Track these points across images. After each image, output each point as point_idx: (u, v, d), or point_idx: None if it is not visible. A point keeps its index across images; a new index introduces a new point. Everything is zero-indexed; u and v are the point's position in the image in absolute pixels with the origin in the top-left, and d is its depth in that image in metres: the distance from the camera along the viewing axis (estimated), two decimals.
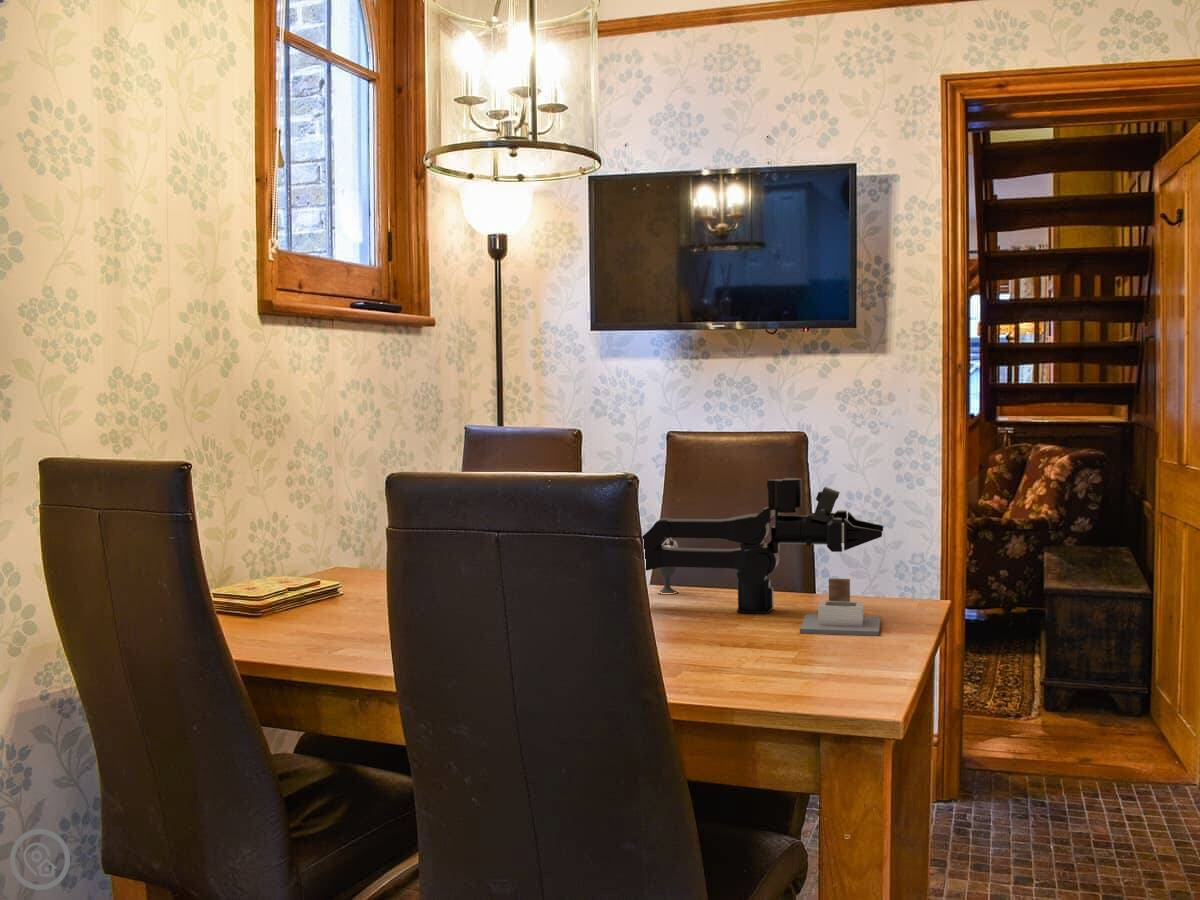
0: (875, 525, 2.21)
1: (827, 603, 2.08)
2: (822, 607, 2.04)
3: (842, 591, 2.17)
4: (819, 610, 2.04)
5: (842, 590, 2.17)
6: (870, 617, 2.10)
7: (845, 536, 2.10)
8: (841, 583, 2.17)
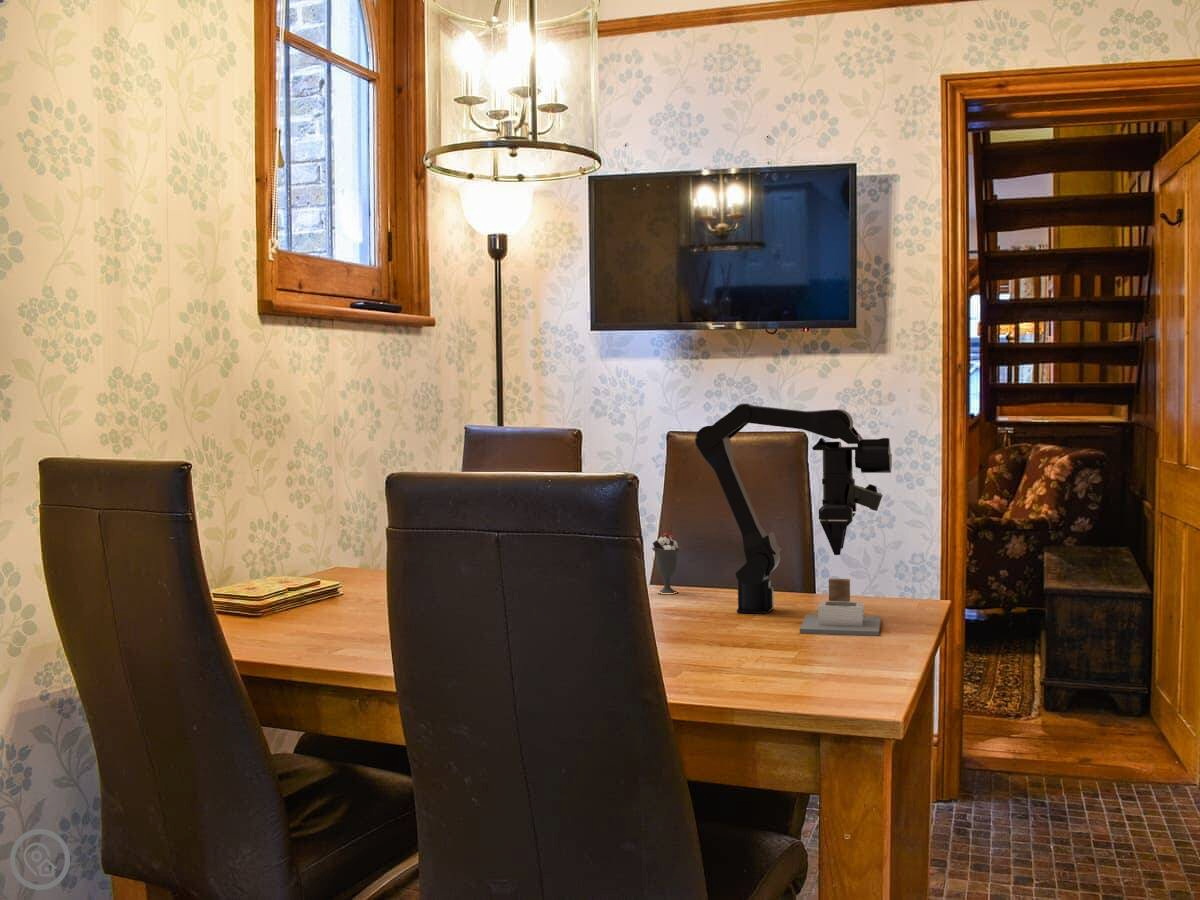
0: (842, 541, 2.21)
1: (827, 603, 2.08)
2: (822, 607, 2.04)
3: (842, 591, 2.17)
4: (819, 610, 2.04)
5: (842, 590, 2.17)
6: (870, 617, 2.10)
7: (834, 522, 2.09)
8: (841, 583, 2.17)
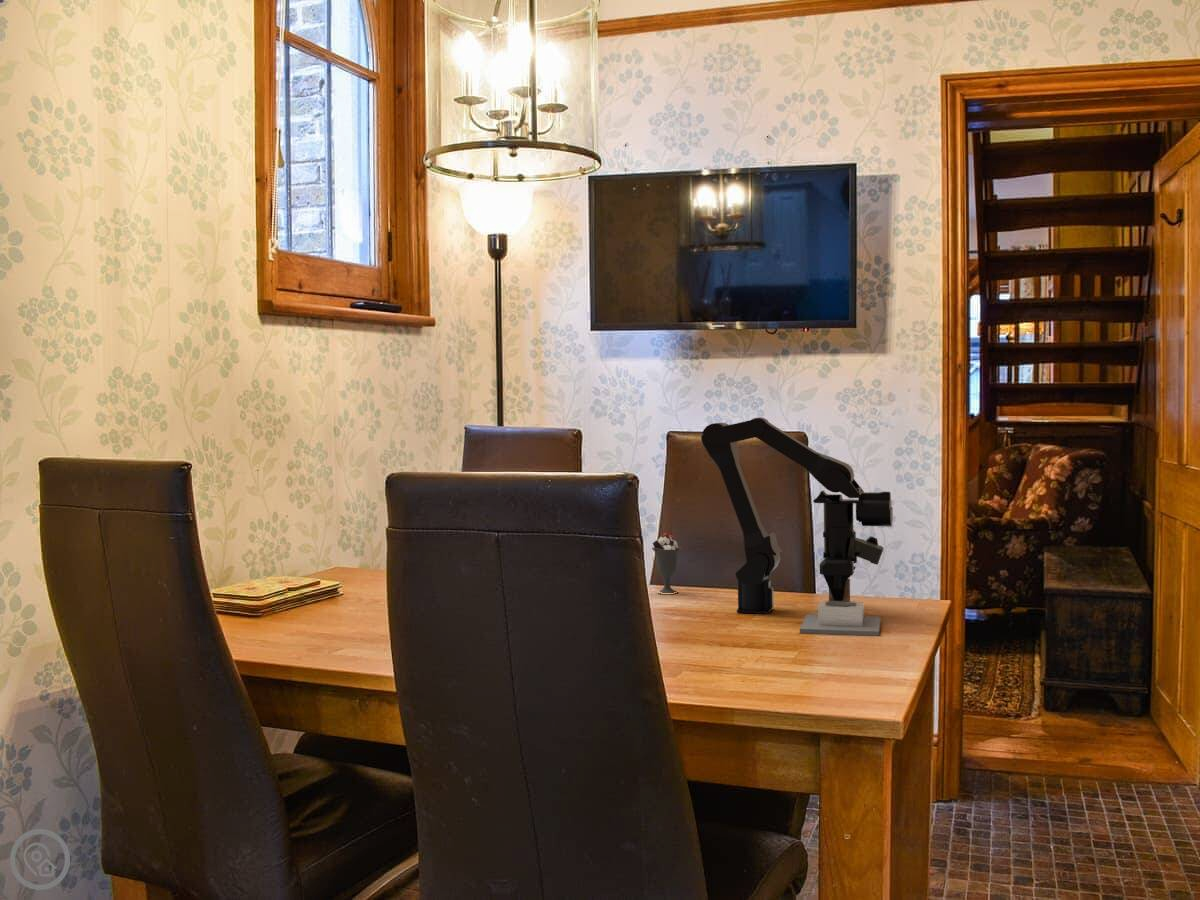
0: None
1: (827, 603, 2.08)
2: (822, 607, 2.04)
3: None
4: (819, 610, 2.04)
5: None
6: (870, 617, 2.10)
7: None
8: None
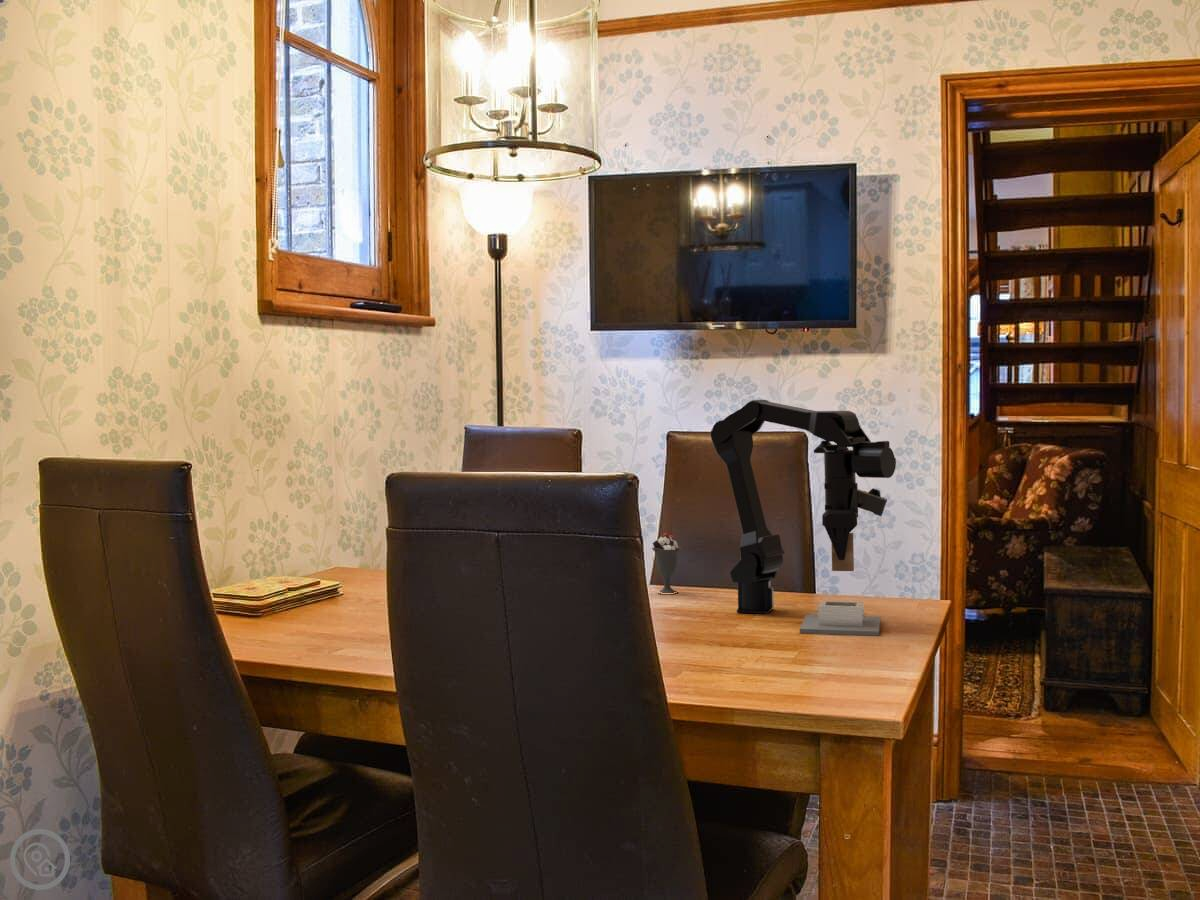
0: None
1: (827, 603, 2.08)
2: (822, 607, 2.04)
3: None
4: (819, 610, 2.04)
5: None
6: (870, 617, 2.10)
7: (839, 526, 2.04)
8: None
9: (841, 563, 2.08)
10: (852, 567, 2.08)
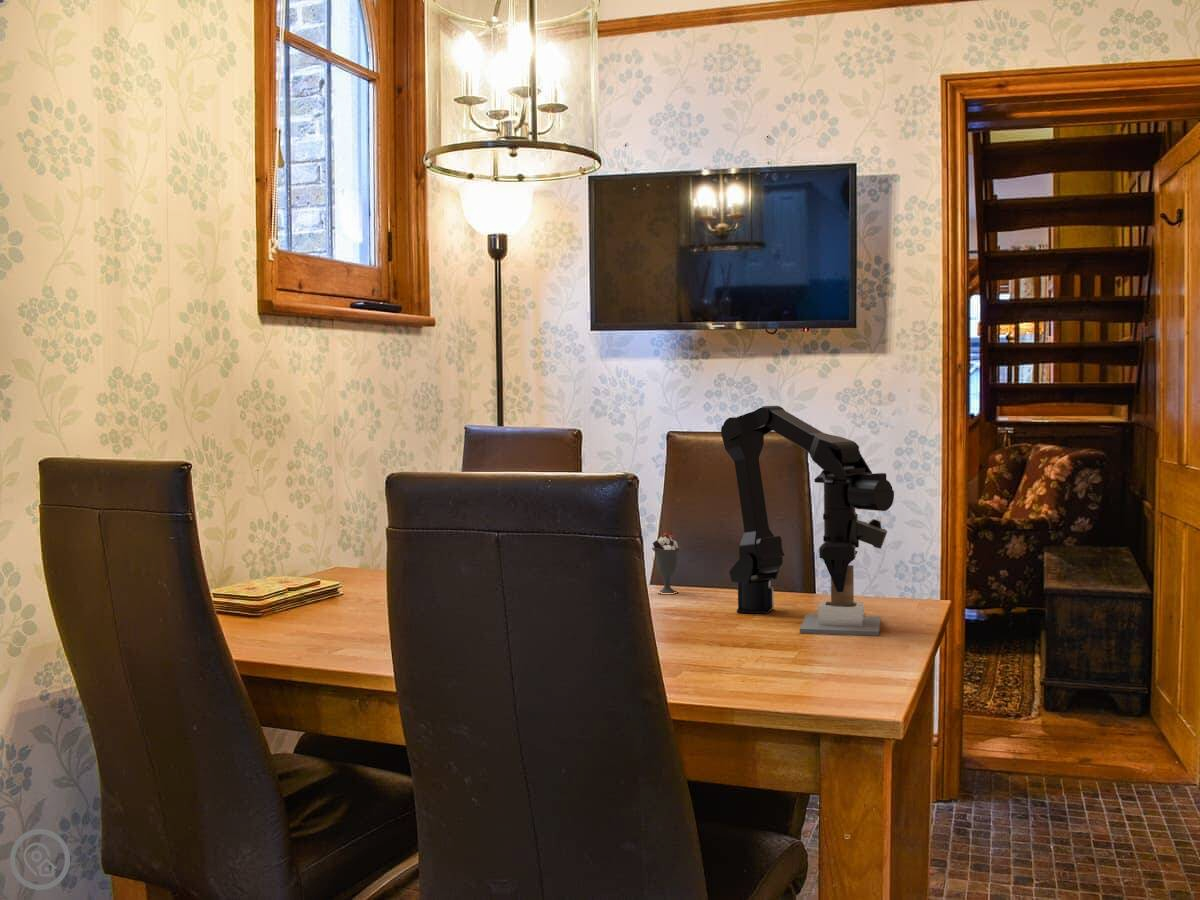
0: None
1: (827, 603, 2.08)
2: (822, 607, 2.04)
3: (845, 578, 2.05)
4: (819, 610, 2.04)
5: None
6: (870, 617, 2.10)
7: (837, 558, 2.01)
8: None
9: (840, 596, 2.05)
10: (851, 600, 2.04)
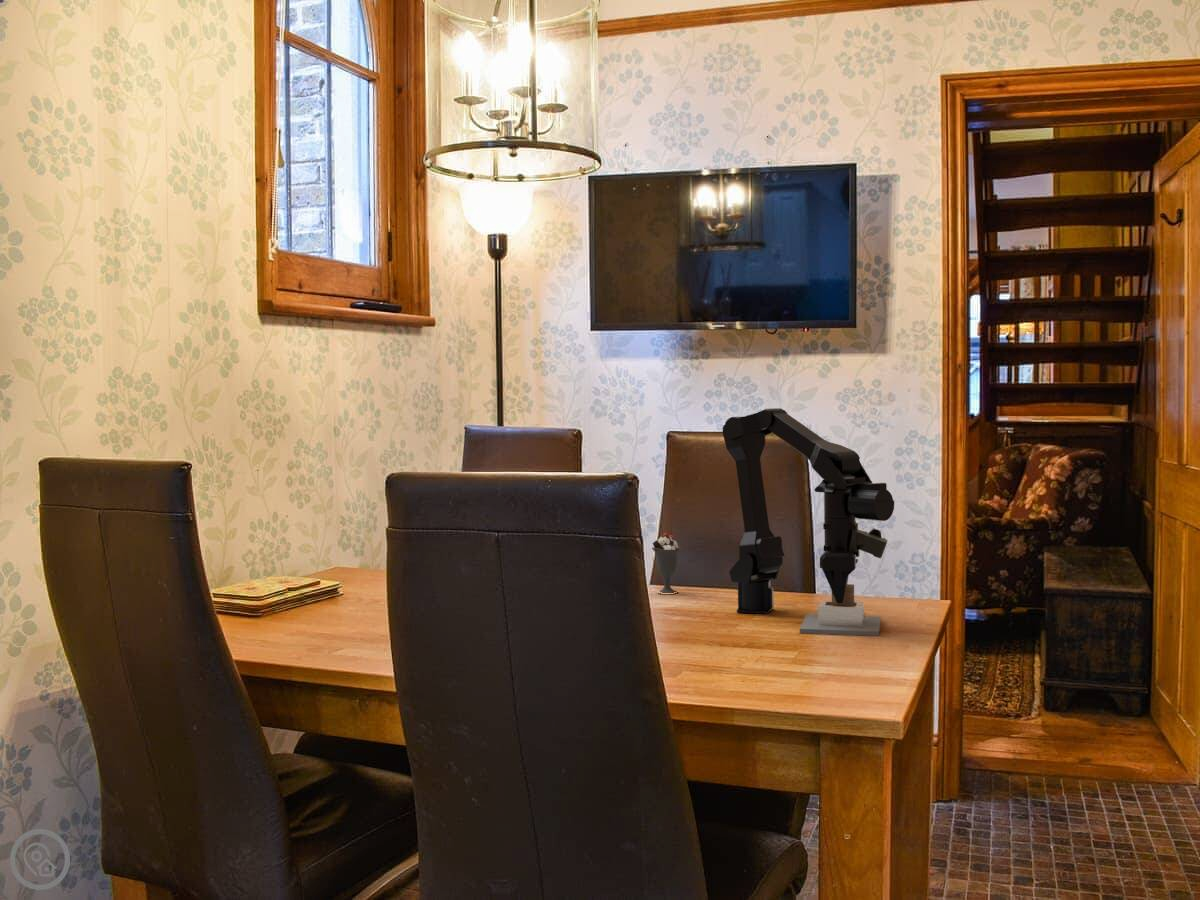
0: None
1: (827, 603, 2.08)
2: (822, 607, 2.04)
3: (846, 598, 2.04)
4: (819, 610, 2.04)
5: (845, 597, 2.04)
6: (870, 617, 2.10)
7: (837, 569, 2.00)
8: None
9: None
10: None
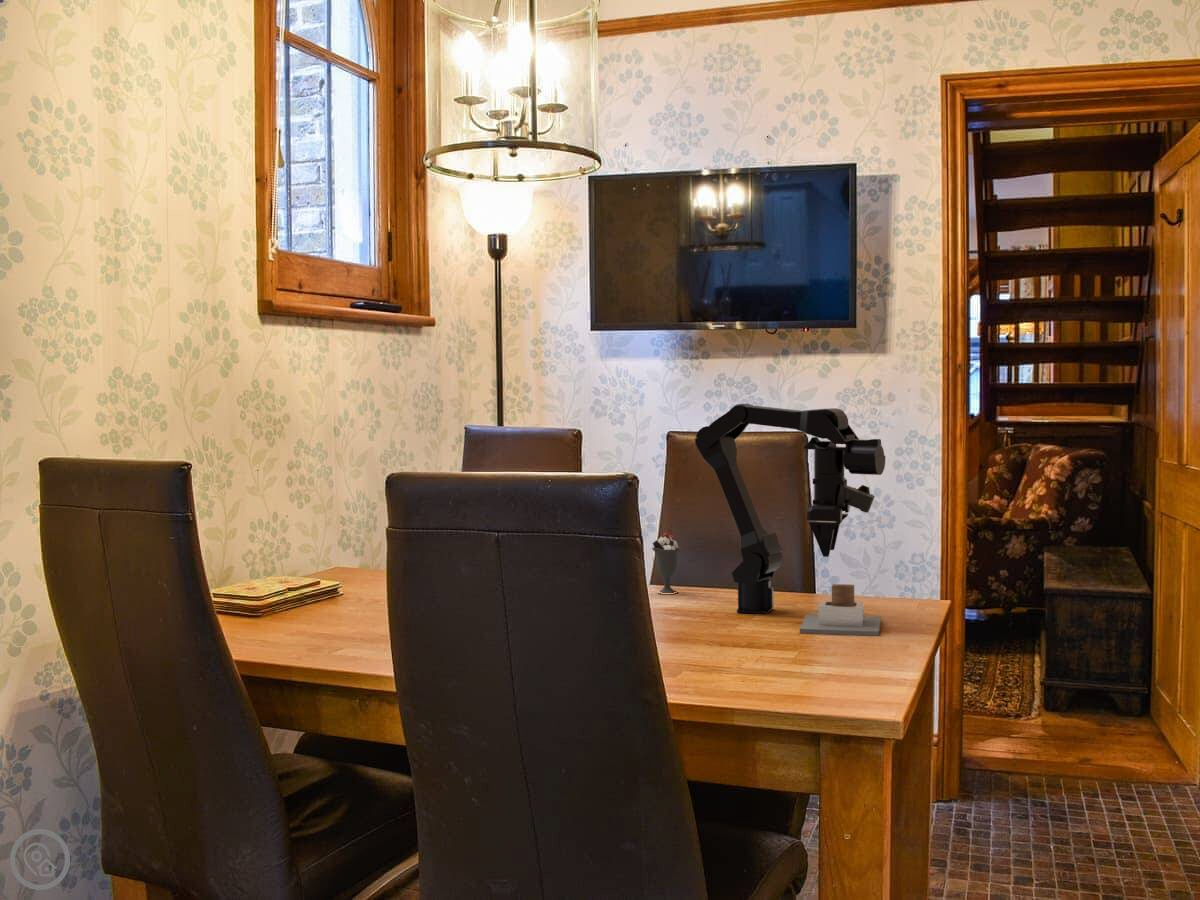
0: (834, 542, 2.18)
1: (827, 603, 2.08)
2: (822, 607, 2.04)
3: (846, 597, 2.05)
4: (819, 610, 2.04)
5: (845, 597, 2.05)
6: (870, 617, 2.10)
7: (822, 523, 2.06)
8: (845, 589, 2.05)
9: None
10: None
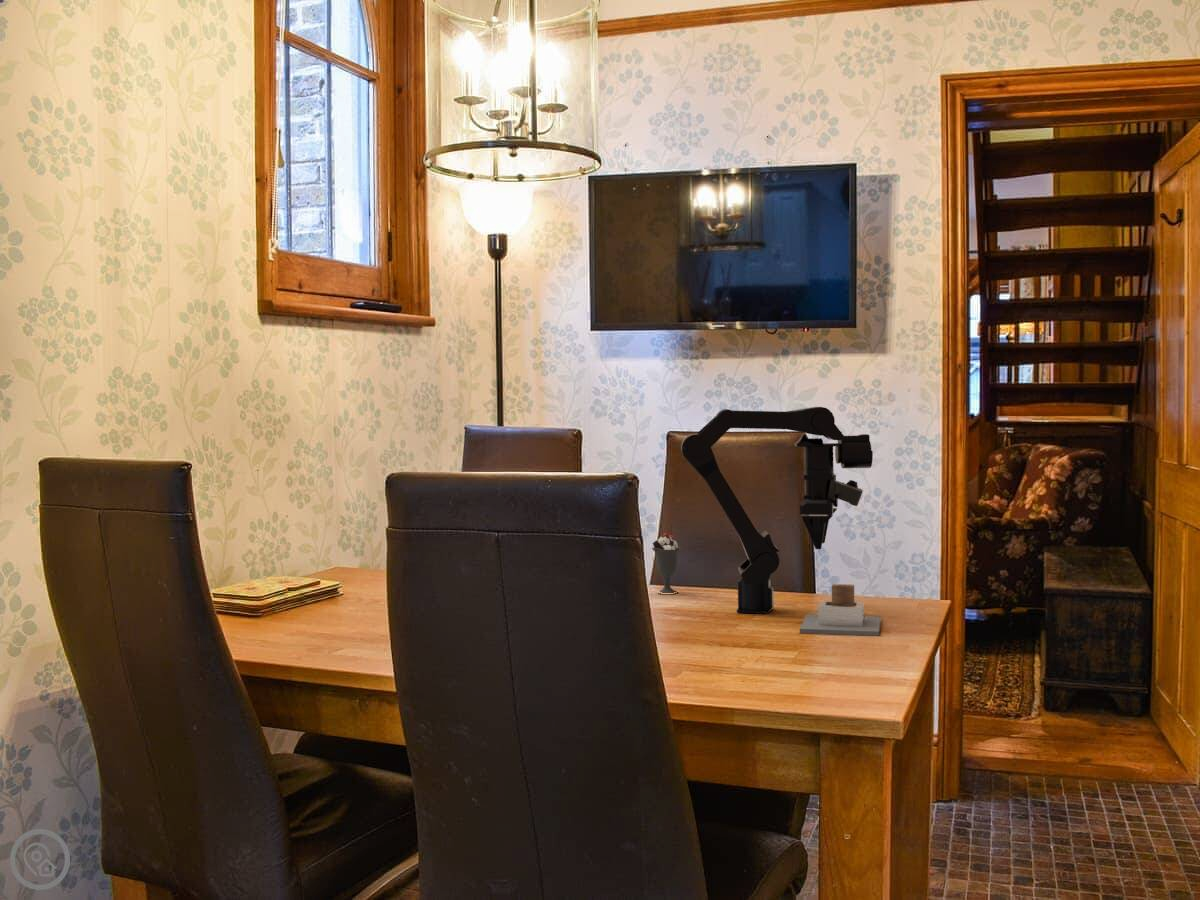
0: (824, 536, 2.26)
1: (827, 603, 2.08)
2: (822, 607, 2.04)
3: (846, 597, 2.05)
4: (819, 610, 2.04)
5: (845, 597, 2.05)
6: (870, 617, 2.10)
7: (815, 517, 2.14)
8: (845, 589, 2.05)
9: None
10: None
